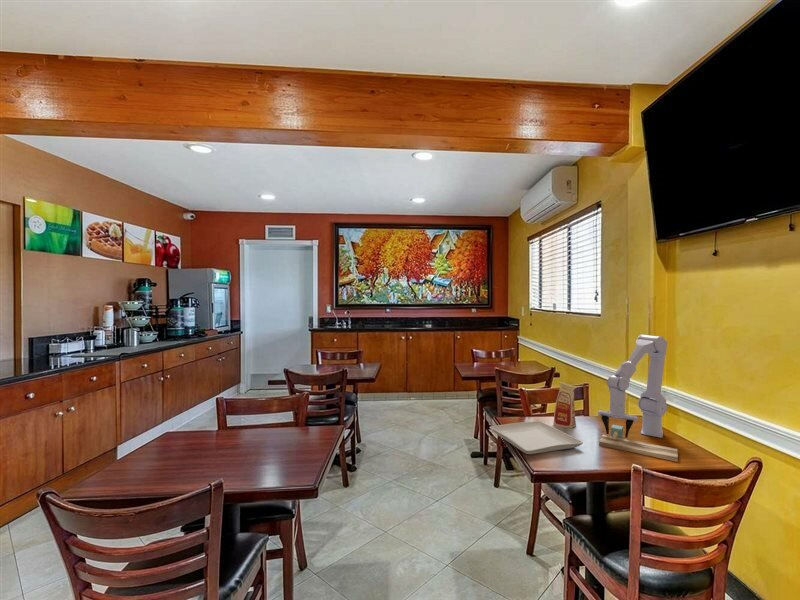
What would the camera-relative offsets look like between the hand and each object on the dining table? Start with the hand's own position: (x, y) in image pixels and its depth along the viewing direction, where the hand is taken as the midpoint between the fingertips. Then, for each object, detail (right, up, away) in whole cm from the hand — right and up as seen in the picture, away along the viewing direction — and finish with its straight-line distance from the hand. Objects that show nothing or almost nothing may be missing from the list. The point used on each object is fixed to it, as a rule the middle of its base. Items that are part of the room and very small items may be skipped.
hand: (616, 435), depth 163 cm
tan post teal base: (-2, -2, -3) cm, 4 cm away
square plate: (-37, -2, -4) cm, 38 cm away
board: (+2, -2, -11) cm, 11 cm away
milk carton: (-14, -1, +18) cm, 23 cm away
